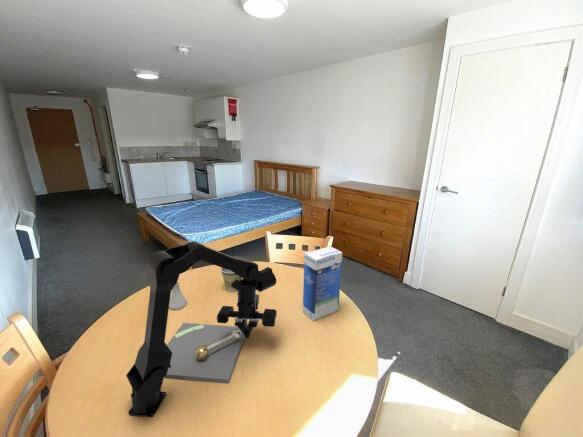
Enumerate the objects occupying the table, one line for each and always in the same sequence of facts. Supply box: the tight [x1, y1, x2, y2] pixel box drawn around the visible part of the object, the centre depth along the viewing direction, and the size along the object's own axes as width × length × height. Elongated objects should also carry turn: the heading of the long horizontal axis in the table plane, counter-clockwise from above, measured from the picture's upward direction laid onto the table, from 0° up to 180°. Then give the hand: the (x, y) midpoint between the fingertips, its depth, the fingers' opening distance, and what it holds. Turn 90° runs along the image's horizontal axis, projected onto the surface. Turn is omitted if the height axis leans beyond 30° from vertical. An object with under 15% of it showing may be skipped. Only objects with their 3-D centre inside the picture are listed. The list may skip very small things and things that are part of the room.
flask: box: [169, 281, 188, 311], centre depth 108 cm, size 7×7×10 cm
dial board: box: [164, 322, 246, 384], centre depth 85 cm, size 22×24×1 cm
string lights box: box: [302, 246, 343, 322], centre depth 103 cm, size 13×8×26 cm, turn 122°
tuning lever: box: [195, 329, 241, 361], centre depth 84 cm, size 15×4×3 cm, turn 130°
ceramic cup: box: [220, 267, 243, 292], centre depth 122 cm, size 13×10×10 cm
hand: (247, 337), depth 88 cm, fingers closed
